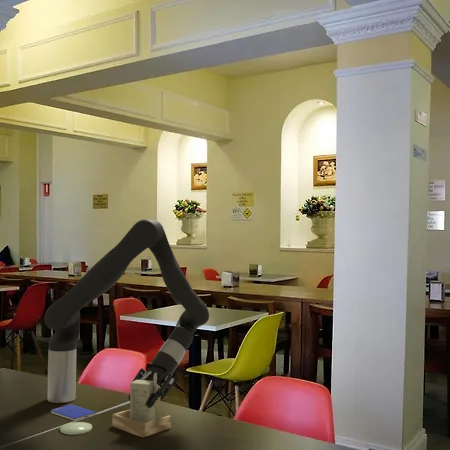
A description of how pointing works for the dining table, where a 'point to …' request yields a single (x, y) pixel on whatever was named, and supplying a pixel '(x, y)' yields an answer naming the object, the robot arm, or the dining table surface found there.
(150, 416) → the skincare box
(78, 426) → the pale green round disc
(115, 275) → the robot arm
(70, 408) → the hard drive
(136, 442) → the dining table surface
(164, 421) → the holder
